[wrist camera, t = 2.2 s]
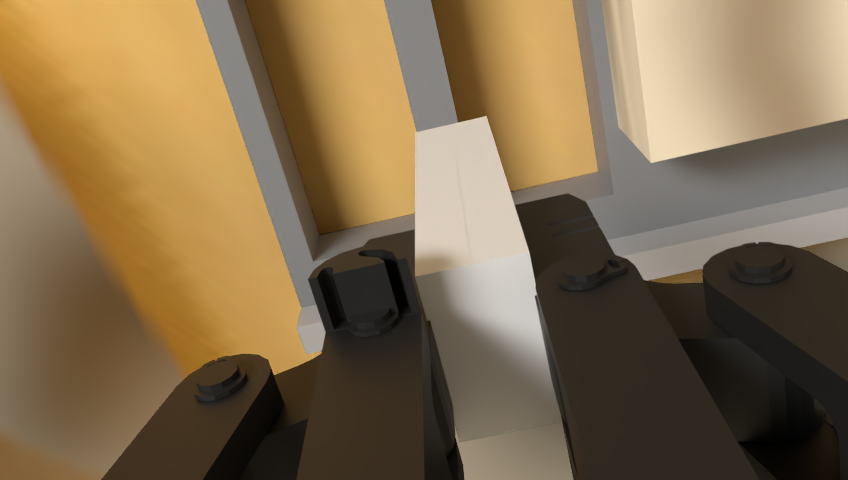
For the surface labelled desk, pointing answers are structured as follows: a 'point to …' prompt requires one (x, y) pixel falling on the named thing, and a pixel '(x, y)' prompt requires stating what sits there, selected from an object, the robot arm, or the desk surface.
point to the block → (724, 70)
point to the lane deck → (603, 191)
